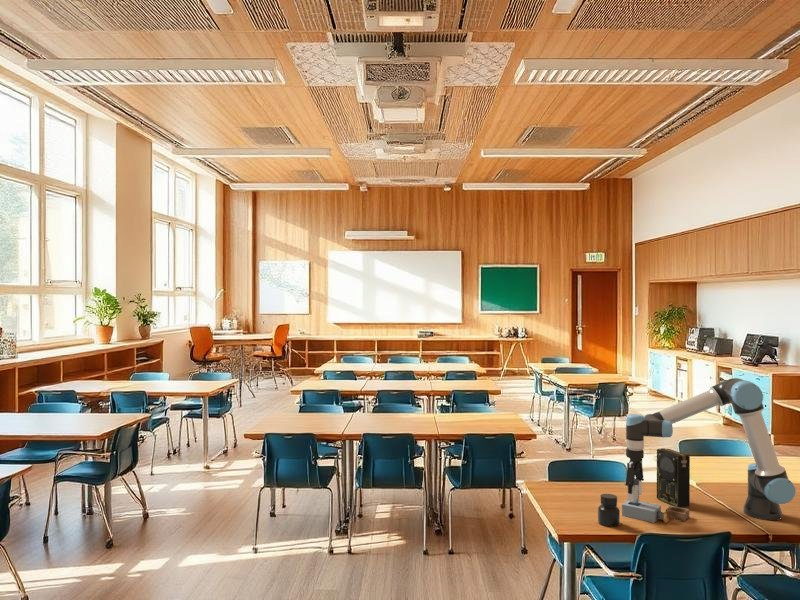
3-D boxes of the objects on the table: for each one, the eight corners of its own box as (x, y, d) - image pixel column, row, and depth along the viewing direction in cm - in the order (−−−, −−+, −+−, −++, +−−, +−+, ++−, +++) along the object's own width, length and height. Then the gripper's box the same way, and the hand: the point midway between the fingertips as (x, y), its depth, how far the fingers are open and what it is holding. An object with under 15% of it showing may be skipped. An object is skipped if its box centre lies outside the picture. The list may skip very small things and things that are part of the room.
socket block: (660, 516, 265) (660, 505, 265) (654, 522, 257) (654, 511, 257) (629, 509, 274) (629, 499, 274) (621, 515, 266) (622, 504, 266)
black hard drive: (654, 498, 290) (654, 448, 291) (668, 497, 293) (668, 447, 293) (677, 509, 275) (677, 455, 276) (692, 507, 278) (692, 454, 278)
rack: (689, 517, 265) (689, 509, 265) (684, 522, 258) (684, 514, 258) (670, 513, 270) (670, 505, 270) (665, 517, 264) (665, 510, 264)
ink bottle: (615, 519, 260) (615, 492, 260) (623, 527, 251) (624, 499, 252) (594, 519, 260) (594, 492, 260) (601, 527, 251) (601, 499, 251)
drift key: (669, 520, 260) (669, 511, 260) (666, 522, 257) (666, 513, 257) (648, 515, 265) (648, 506, 266) (645, 518, 262) (645, 509, 262)
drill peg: (640, 514, 268) (640, 479, 268) (637, 516, 265) (637, 481, 265) (631, 512, 270) (631, 477, 270) (629, 514, 267) (629, 479, 267)
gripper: (634, 443, 279) (634, 490, 279) (618, 451, 261) (617, 501, 261) (650, 445, 274) (650, 493, 274) (635, 454, 257) (635, 505, 256)
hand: (634, 497), depth 267 cm, fingers open, 10 cm apart
